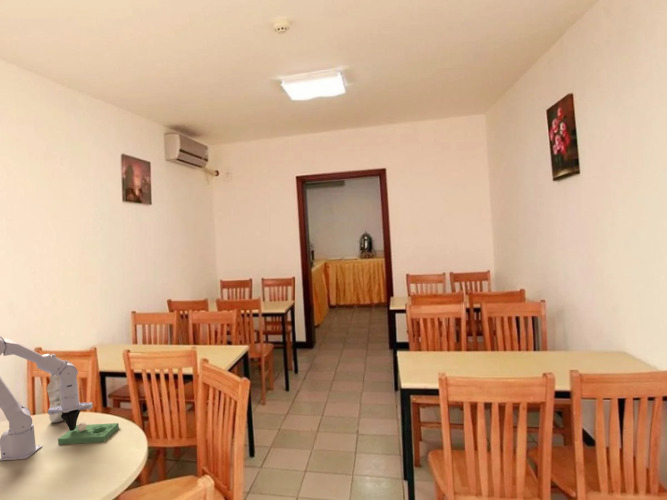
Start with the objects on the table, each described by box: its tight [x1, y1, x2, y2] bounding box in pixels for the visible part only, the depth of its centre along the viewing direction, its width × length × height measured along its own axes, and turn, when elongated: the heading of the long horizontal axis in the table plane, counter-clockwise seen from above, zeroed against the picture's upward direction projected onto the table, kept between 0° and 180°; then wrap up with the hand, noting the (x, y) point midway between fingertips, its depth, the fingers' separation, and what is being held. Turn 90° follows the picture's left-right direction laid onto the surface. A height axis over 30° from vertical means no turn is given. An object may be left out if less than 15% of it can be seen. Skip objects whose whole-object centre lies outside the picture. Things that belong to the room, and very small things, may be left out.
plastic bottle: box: [46, 374, 64, 424], centre depth 162 cm, size 6×7×20 cm
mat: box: [57, 422, 120, 445], centre depth 148 cm, size 17×10×2 cm, turn 90°
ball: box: [77, 422, 88, 432], centre depth 148 cm, size 3×3×3 cm
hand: (72, 429), depth 148 cm, fingers closed
